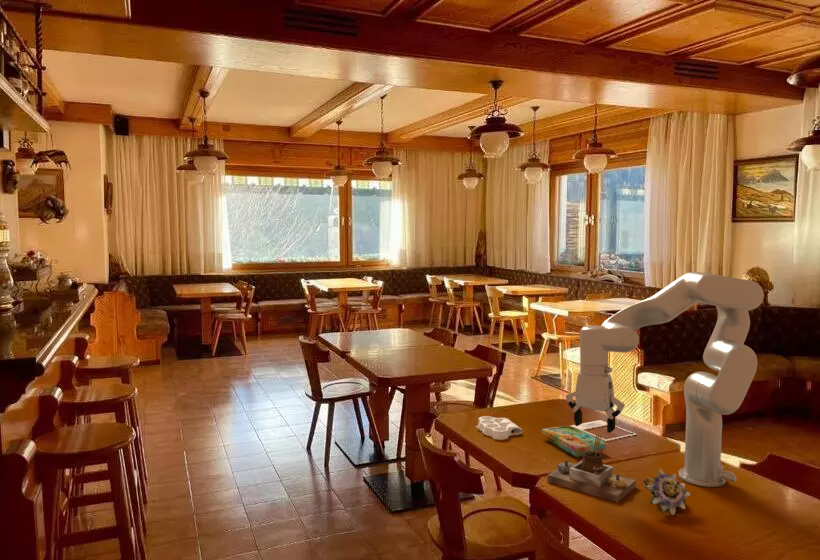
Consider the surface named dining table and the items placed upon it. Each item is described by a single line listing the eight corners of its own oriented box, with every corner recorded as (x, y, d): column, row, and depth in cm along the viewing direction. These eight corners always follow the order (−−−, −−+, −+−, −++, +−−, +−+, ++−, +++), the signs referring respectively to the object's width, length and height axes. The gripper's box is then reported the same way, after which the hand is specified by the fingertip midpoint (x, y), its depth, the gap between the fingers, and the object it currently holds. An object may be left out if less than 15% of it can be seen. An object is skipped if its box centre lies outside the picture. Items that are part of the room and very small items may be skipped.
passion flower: (670, 534, 159) (655, 505, 154) (643, 508, 169) (627, 480, 164) (703, 507, 161) (689, 477, 156) (674, 483, 171) (659, 455, 166)
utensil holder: (577, 477, 177) (578, 437, 176) (588, 471, 181) (589, 432, 180) (596, 483, 173) (597, 442, 172) (607, 477, 177) (608, 437, 176)
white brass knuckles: (526, 438, 217) (487, 442, 213) (505, 422, 234) (469, 426, 231) (526, 429, 217) (487, 432, 213) (505, 414, 234) (469, 417, 230)
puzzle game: (575, 445, 196) (541, 426, 215) (574, 459, 197) (541, 439, 216) (605, 441, 200) (570, 422, 219) (605, 455, 201) (570, 435, 219)
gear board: (635, 487, 175) (636, 470, 175) (617, 502, 165) (617, 484, 165) (567, 468, 189) (568, 452, 189) (547, 481, 179) (547, 464, 179)
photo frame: (600, 419, 235) (636, 433, 219) (600, 422, 235) (636, 436, 219) (570, 425, 228) (605, 439, 212) (570, 428, 228) (605, 443, 212)
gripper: (629, 370, 171) (629, 430, 173) (571, 363, 183) (572, 419, 184) (618, 376, 166) (618, 437, 167) (559, 368, 177) (560, 425, 179)
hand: (594, 428), depth 176 cm, fingers open, 9 cm apart
